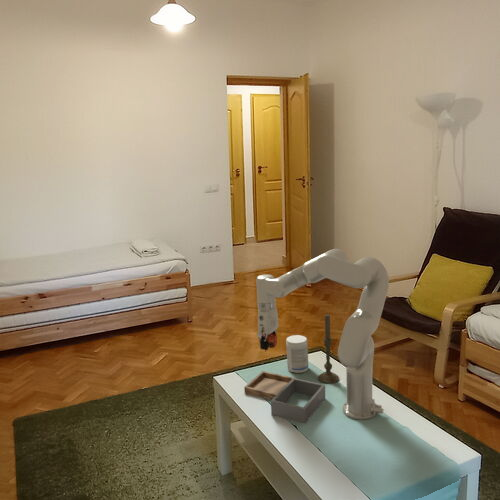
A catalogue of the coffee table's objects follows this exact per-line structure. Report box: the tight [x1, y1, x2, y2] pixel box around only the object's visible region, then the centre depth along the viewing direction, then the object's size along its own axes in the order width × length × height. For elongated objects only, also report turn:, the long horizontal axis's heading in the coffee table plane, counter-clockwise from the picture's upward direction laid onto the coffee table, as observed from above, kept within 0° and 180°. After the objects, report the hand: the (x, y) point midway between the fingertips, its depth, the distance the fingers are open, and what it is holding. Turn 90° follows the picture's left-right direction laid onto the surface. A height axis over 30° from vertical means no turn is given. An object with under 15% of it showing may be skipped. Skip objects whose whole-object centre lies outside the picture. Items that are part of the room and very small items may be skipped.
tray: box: [243, 370, 294, 401], centre depth 204 cm, size 16×16×3 cm
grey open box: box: [270, 377, 326, 425], centre depth 188 cm, size 14×20×6 cm
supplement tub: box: [285, 334, 309, 374], centre depth 219 cm, size 10×10×15 cm
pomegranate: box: [258, 333, 278, 353], centre depth 199 cm, size 7×7×10 cm
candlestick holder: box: [317, 313, 340, 385], centre depth 206 cm, size 9×9×30 cm
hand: (268, 345), depth 200 cm, fingers closed on pomegranate, 7 cm apart
